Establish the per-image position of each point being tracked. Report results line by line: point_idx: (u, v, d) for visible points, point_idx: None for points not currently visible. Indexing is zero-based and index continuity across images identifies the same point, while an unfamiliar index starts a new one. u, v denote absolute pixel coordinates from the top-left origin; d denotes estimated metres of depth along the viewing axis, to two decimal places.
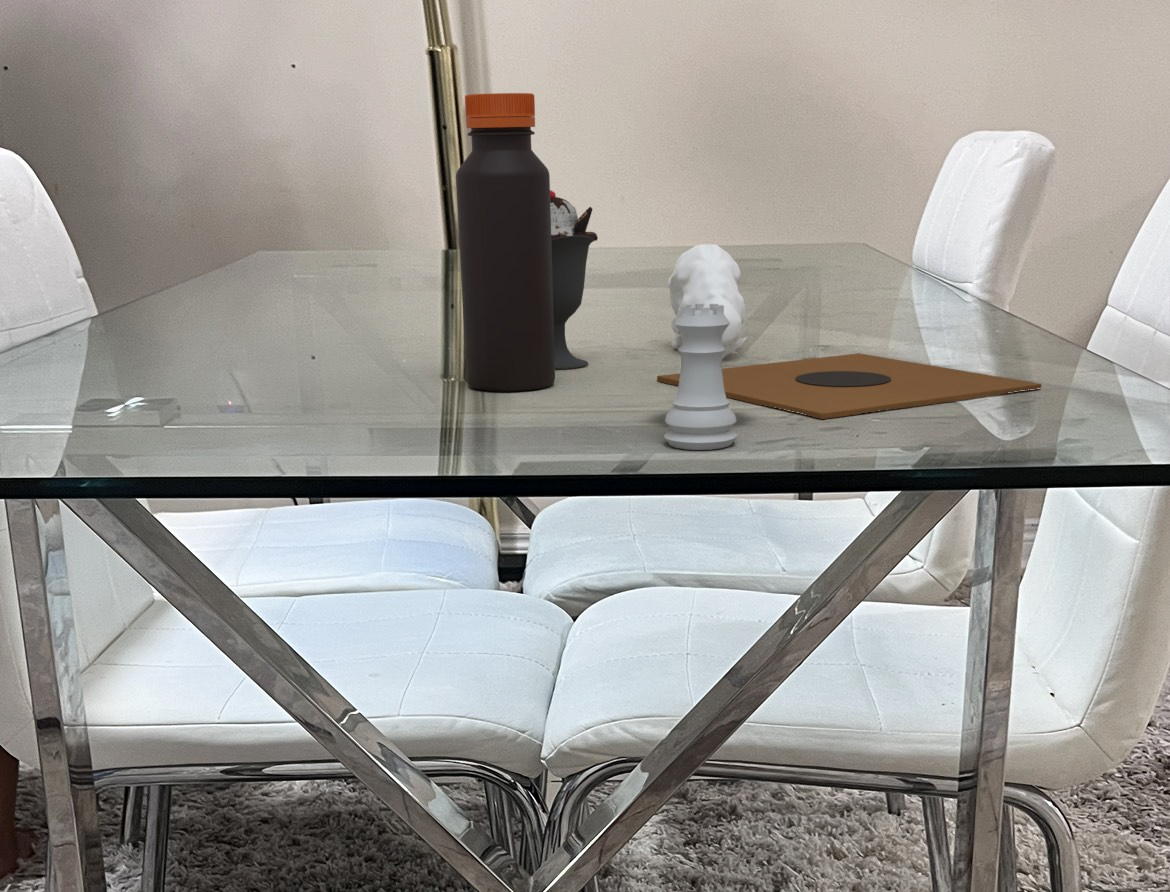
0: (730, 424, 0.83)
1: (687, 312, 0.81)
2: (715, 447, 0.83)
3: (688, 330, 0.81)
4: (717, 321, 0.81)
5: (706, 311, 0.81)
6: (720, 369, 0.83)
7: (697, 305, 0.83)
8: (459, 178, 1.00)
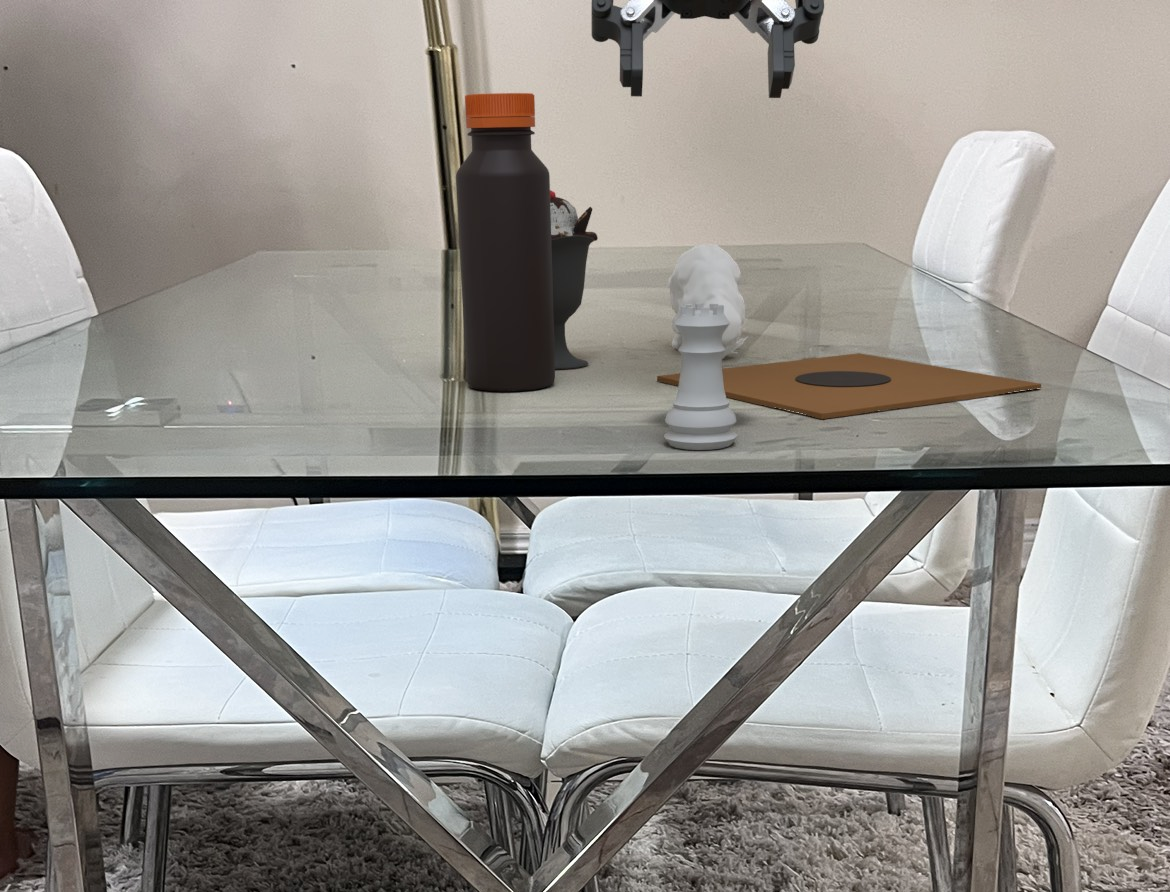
0: (730, 424, 0.83)
1: (687, 312, 0.81)
2: (715, 447, 0.83)
3: (688, 330, 0.81)
4: (717, 321, 0.81)
5: (706, 311, 0.81)
6: (720, 369, 0.83)
7: (697, 305, 0.83)
8: (459, 178, 1.00)
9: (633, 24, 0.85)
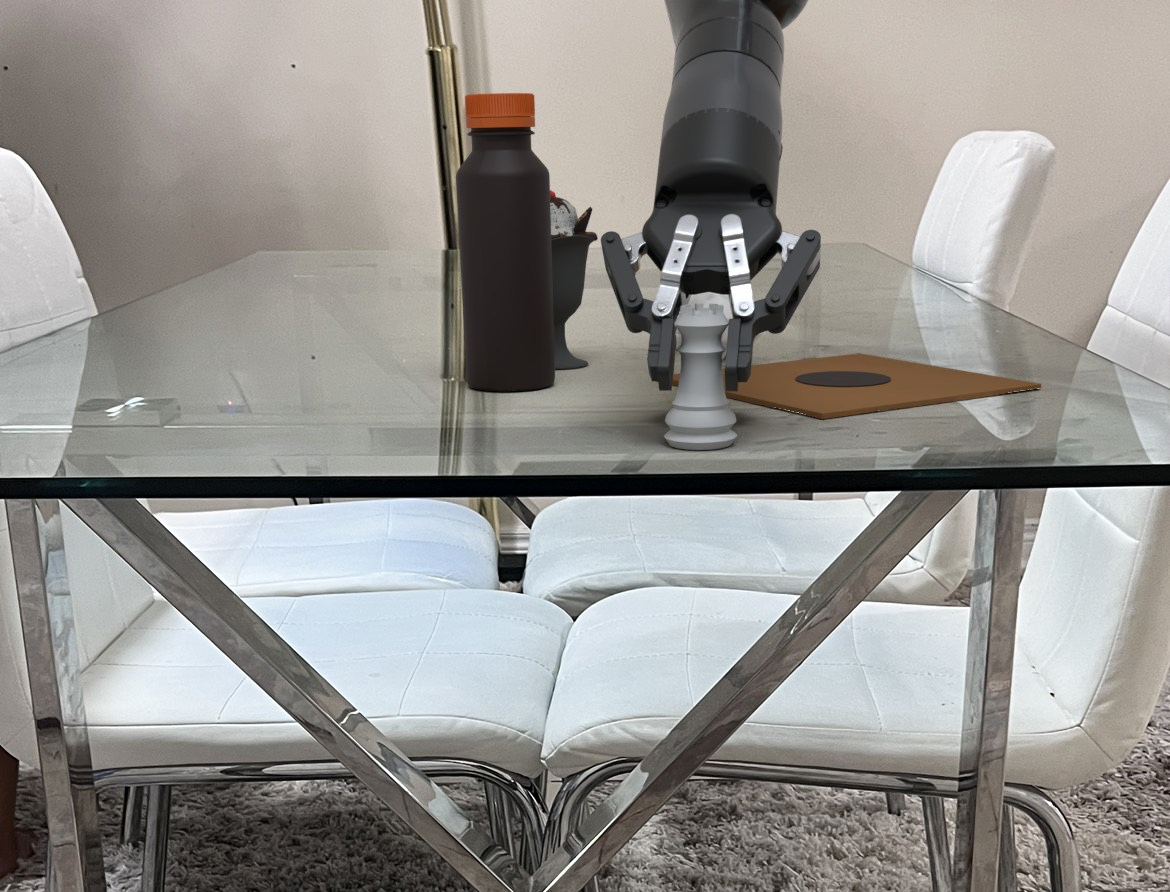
0: (730, 424, 0.83)
1: (687, 312, 0.81)
2: (715, 447, 0.83)
3: (688, 330, 0.81)
4: (717, 321, 0.81)
5: (706, 311, 0.81)
6: (720, 369, 0.83)
7: (697, 305, 0.83)
8: (459, 178, 1.00)
9: (663, 319, 0.82)
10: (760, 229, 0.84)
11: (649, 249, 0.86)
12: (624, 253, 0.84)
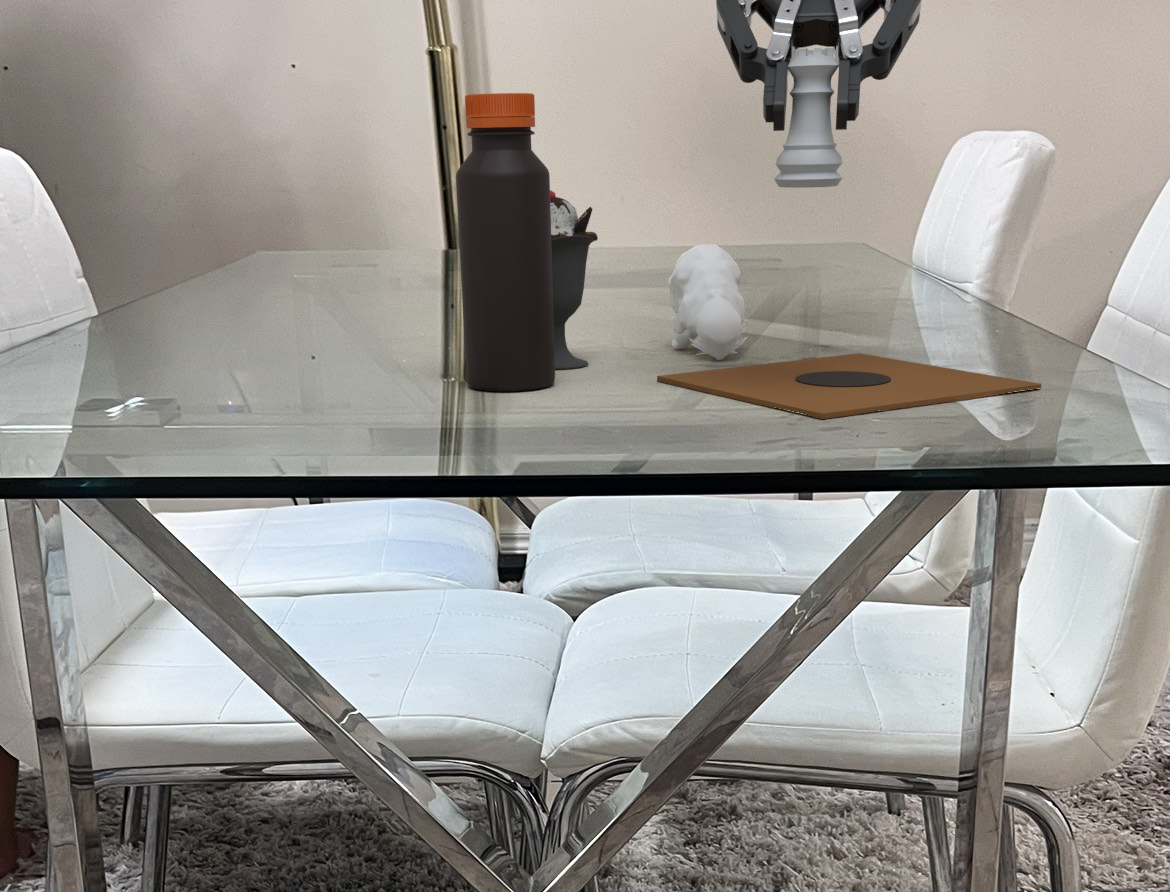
0: (837, 163, 0.90)
1: (800, 53, 0.88)
2: (824, 185, 0.90)
3: (801, 70, 0.88)
4: (828, 61, 0.88)
5: (819, 51, 0.87)
6: (829, 111, 0.90)
7: (808, 51, 0.89)
8: (459, 178, 1.00)
9: (778, 63, 0.89)
10: None
11: (760, 7, 0.92)
12: (738, 6, 0.91)
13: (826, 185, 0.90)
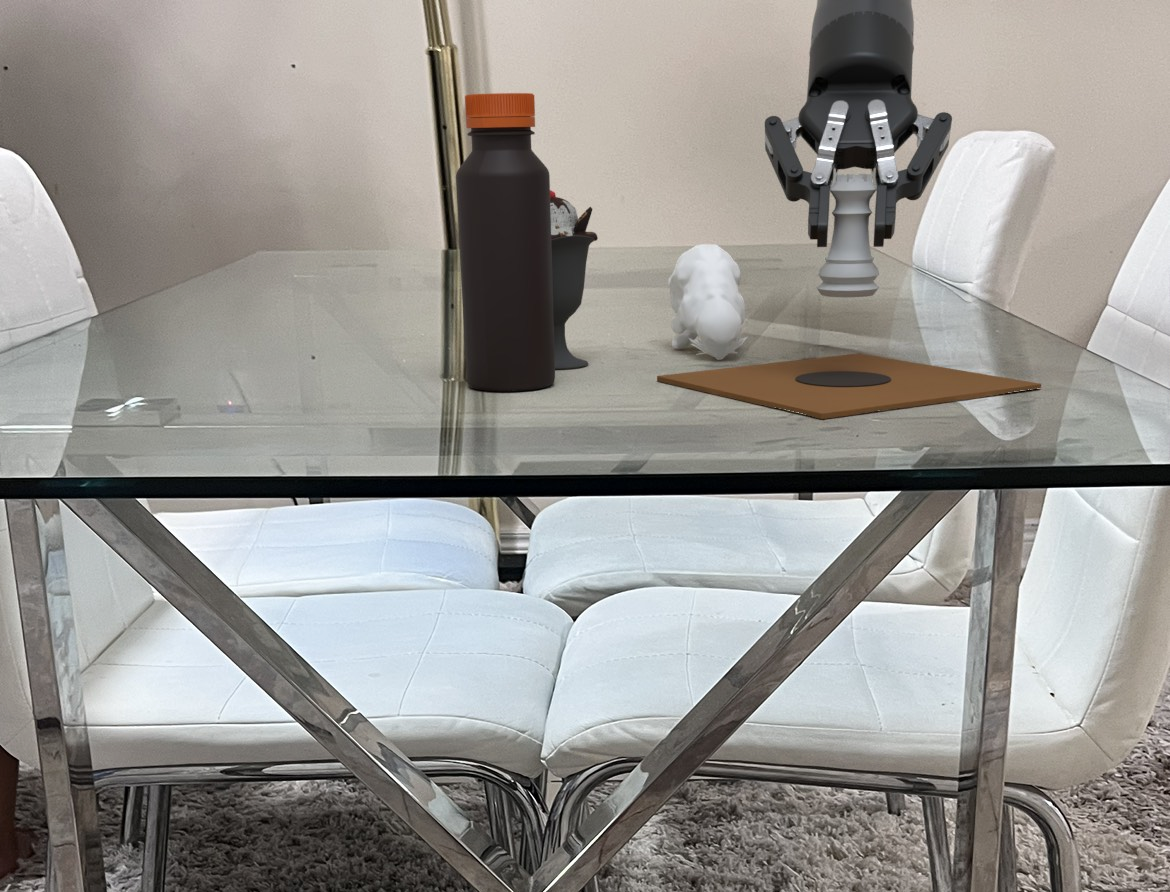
0: (875, 276, 1.00)
1: (842, 179, 0.98)
2: (862, 295, 1.00)
3: (843, 194, 0.98)
4: (867, 186, 0.97)
5: (859, 178, 0.97)
6: (867, 229, 0.99)
7: (848, 175, 0.99)
8: (459, 178, 1.00)
9: (821, 187, 0.99)
10: (900, 112, 1.00)
11: (804, 132, 1.02)
12: (785, 133, 1.01)
13: (864, 295, 1.00)
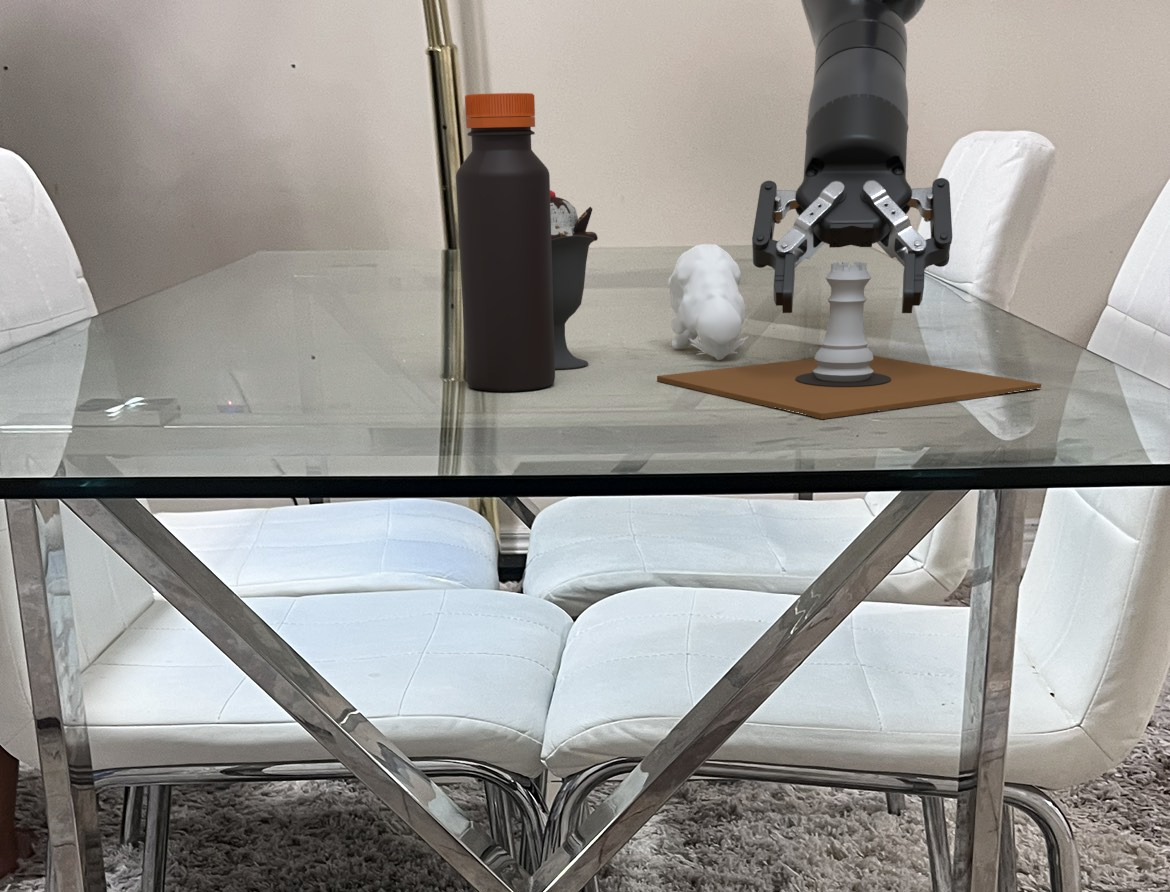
0: (869, 360, 1.02)
1: (838, 268, 1.00)
2: (857, 379, 1.02)
3: (838, 283, 1.00)
4: (862, 275, 1.00)
5: (854, 267, 1.00)
6: (862, 316, 1.02)
7: (844, 263, 1.02)
8: (459, 178, 1.00)
9: (786, 255, 1.01)
10: (895, 193, 1.02)
11: (797, 206, 1.04)
12: (772, 201, 1.03)
13: (859, 379, 1.02)
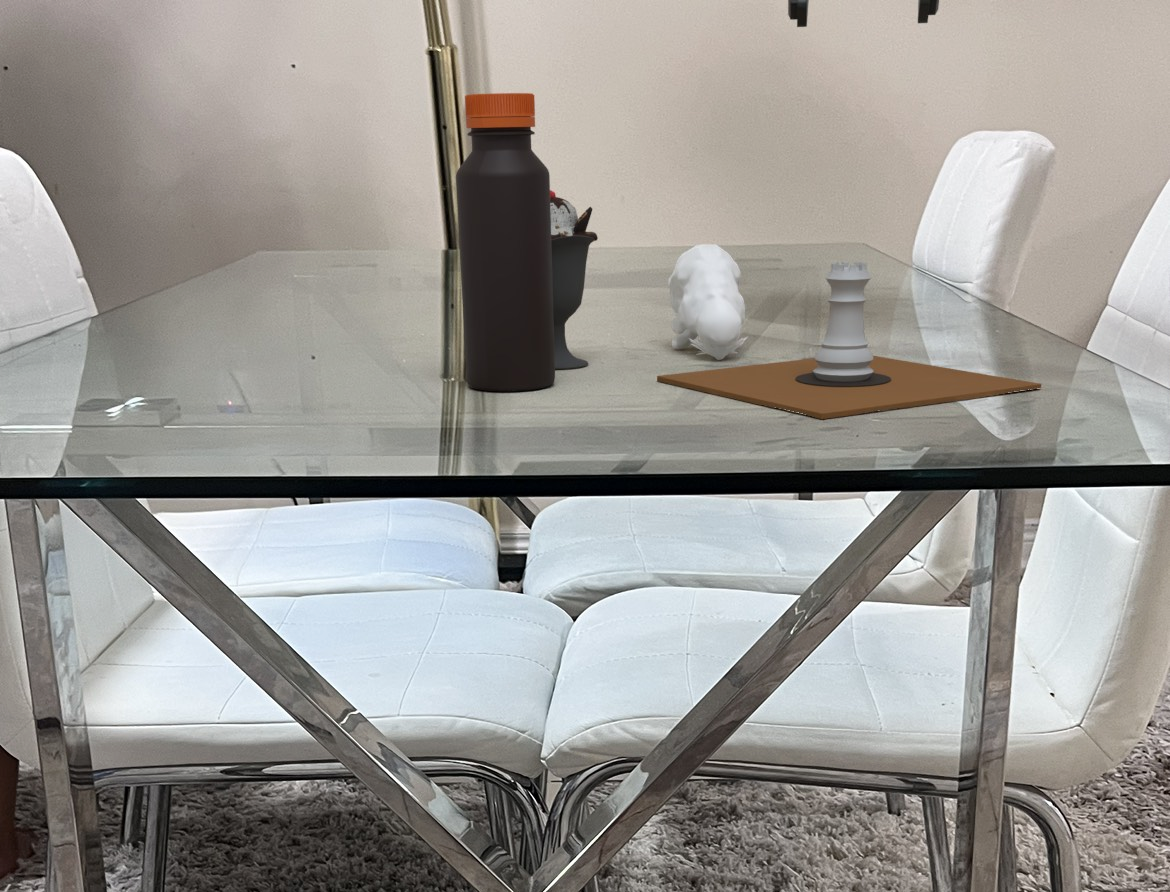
0: (869, 360, 1.02)
1: (838, 268, 1.00)
2: (857, 379, 1.02)
3: (838, 283, 1.00)
4: (862, 275, 1.00)
5: (854, 267, 1.00)
6: (862, 316, 1.02)
7: (844, 263, 1.02)
8: (459, 178, 1.00)
9: None
10: None
11: None
12: None
13: (859, 379, 1.02)
